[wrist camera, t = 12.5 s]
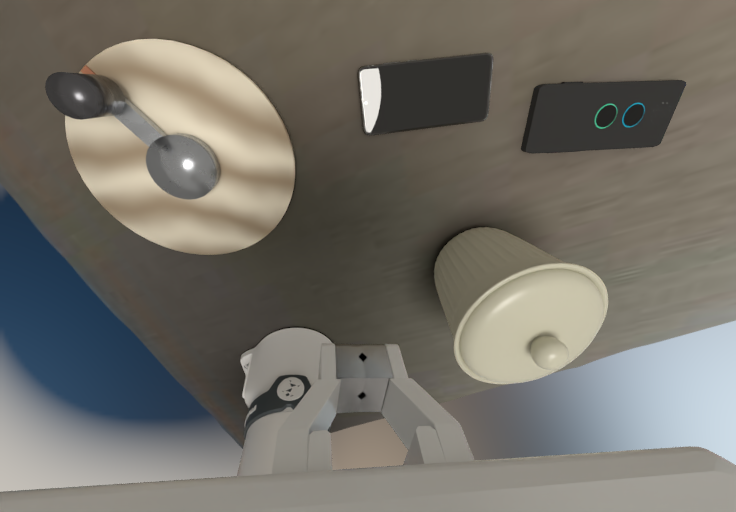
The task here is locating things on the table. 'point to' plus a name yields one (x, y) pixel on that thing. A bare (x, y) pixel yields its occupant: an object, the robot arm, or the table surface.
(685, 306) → the table surface
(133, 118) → the crank handle
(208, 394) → the table surface
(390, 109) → the smartphone
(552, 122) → the smart home device
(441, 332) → the table surface
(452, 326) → the canister
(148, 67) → the base
